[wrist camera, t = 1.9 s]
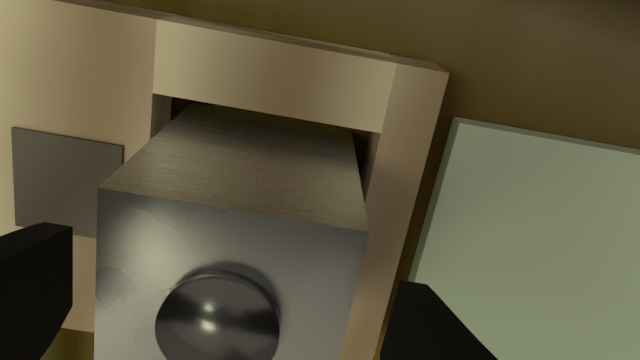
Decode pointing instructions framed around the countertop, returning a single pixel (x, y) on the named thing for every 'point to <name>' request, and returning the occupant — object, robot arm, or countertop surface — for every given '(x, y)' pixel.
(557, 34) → the countertop surface
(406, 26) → the countertop surface
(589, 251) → the rubber pad
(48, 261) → the robot arm
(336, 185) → the knob-topped grey cube
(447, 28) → the countertop surface
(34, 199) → the birch frame
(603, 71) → the countertop surface
